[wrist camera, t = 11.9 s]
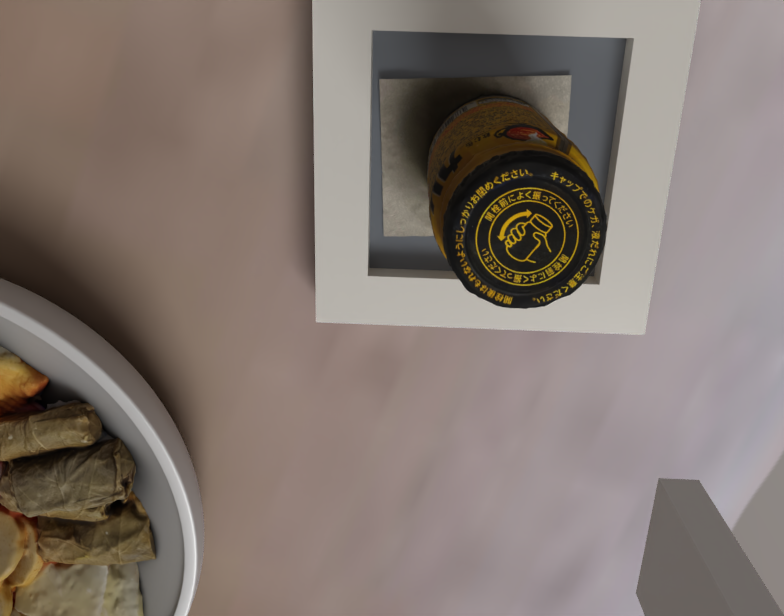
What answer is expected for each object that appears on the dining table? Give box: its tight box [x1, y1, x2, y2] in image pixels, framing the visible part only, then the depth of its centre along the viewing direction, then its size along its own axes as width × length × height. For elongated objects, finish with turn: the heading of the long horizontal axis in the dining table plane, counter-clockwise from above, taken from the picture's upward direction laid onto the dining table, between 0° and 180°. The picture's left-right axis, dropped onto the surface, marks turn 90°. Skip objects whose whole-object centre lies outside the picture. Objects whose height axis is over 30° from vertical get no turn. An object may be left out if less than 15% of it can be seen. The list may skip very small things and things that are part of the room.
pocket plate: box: [312, 0, 701, 335], centre depth 35 cm, size 16×16×3 cm
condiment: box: [379, 75, 607, 309], centre depth 29 cm, size 7×8×12 cm
